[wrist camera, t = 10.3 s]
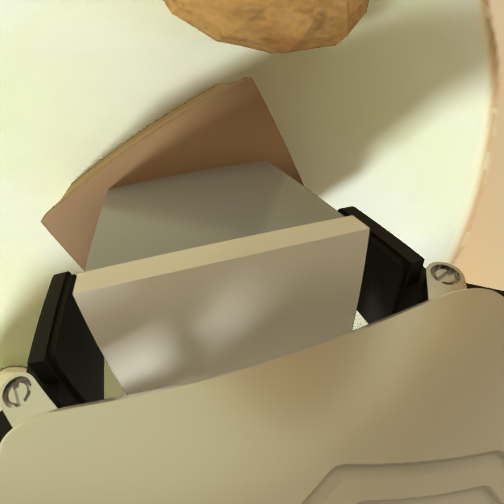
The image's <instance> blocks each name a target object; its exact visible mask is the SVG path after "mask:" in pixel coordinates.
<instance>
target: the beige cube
mask: <svg viewBox="0 0 504 504" xmlns="http://www.w3.org/2000/svg"><path fill="white" fill-rule="evenodd" d="M369 231H370V228H369V227H367V226H366V225H365V224H364V223H362V222H361V221H360V220H358V219H357V218H356V217H354V216H353V215H352V216H347V217H344V216H343V215H342V214H341V213H339V212H338V211H337V210H335V209H334V208H333V207H331V206H330V205H329V204H327V203H326V202H325V201H323V200H322V199H321V198H319V197H318V196H316V195H315V194H314V193H312V192H311V191H310V190H308V189H307V188H305V187H304V186H303V185H301V184H300V183H299V182H297V181H296V180H294V179H293V178H291V177H290V176H289V175H287V174H286V173H284V172H283V171H281V170H280V169H279V168H277V167H276V166H274V165H273V164H271V163H270V162H268V161H267V160H265V161H257V162H250V163H243V164H236V165H230V166H224V167H217V168H211V169H205V170H200V171H194V172H189V173H183V174H178V175H173V176H168V177H163V178H158V179H153V180H148V181H143V182H139V183H134V184H130V185H125V186H121V187H117V188H112V189H108V191H107V194H106V197H105V200H104V203H103V207H102V210H101V213H100V216H99V220H98V223H97V226H96V230H95V233H94V237H93V241H92V244H91V248H90V252H89V256H88V260H87V264H86V268H85V272H82V273H78V274H77V278H76V282H75V286H74V290H73V296H74V298H75V300H76V303H77V305H78V307H79V309H80V311H81V313H82V315H83V317H84V319H85V321H86V323H87V325H88V327H89V329H90V331H91V333H92V335H93V337H94V339H95V341H96V343H97V345H98V347H99V348H100V350H101V352H102V354H103V356H104V357H105V359H106V361H107V363H108V365H109V366H110V368H111V370H112V371H113V373H114V375H115V377H116V378H117V380H118V382H119V383H120V385H121V386H122V388H123V390H124V391H125V393H126V394H127V395H130V394H135V393H140V392H145V391H150V390H154V389H159V388H164V387H168V386H172V385H177V384H181V383H185V382H189V381H193V380H197V379H201V378H205V377H209V376H213V375H217V374H220V373H224V372H228V371H231V370H235V369H238V368H242V367H245V366H249V365H252V364H256V363H259V362H262V361H266V360H269V359H272V358H275V357H278V356H281V355H285V354H288V353H291V352H294V351H297V350H300V349H303V348H306V347H309V346H311V345H314V344H317V343H320V342H323V341H326V340H329V339H331V338H334V337H337V336H340V335H342V334H345V333H348V332H350V331H352V329H353V324H354V319H355V314H356V309H357V304H358V299H359V294H360V288H361V283H362V277H363V271H364V265H365V259H366V252H367V245H368V238H369Z"/></svg>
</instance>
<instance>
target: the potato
mask: <svg viewBox="0 0 504 504" xmlns="http://www.w3.org/2000/svg"><path fill="white" fill-rule="evenodd" d="M163 1H164V2H165V4H166V5H167V7H168V8H169V10H170V11H171V13H172V14H174V15H175V16H177V17H179V18H180V19H182V20H184V21H185V22H187V23H189V24H190V25H192V26H193V27H195V28H197V29H198V30H200V31H201V32H203V33H204V34H206V35H208V36H209V37H211V38H212V39H214V40H215V41H218V42H224V43H229V44H234V45H239V46H244V47H248V48H252V49H257V50H261V51H265V52H269V53H288V52H293V51H299V50H306V49H312V48H319V47H327V46H335V45H336V44H338V43H339V42H340V41H341V40H343V39H344V38H345V37H346V36H347V35H348V34H349V33H350V31H351V30H352V29H353V28H354V26H355V25H356V24H357V23H358V21H359V20H360V19H361V18H362V16H363V15H364V14H365V13H366V11H367V7H368V2H369V0H163Z"/></svg>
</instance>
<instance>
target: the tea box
mask: <svg viewBox="0 0 504 504" xmlns="http://www.w3.org/2000/svg"><path fill="white" fill-rule="evenodd" d="M265 160H267V161H268V162H270V163H271V164H273V165H274V166H276V167H277V168H279V169H280V170H281V171H283V172H284V173H286V174H287V175H289V176H290V177H291V178H293V179H294V180H296V181H297V182H299V183H300V184H301V185H303V183H302V181H301V178H300V176H299V174H298V172H297V169H296V167H295V165H294V163H293V161H292V159H291V156H290V154H289V152H288V150H287V148H286V146H285V144H284V141H283V139H282V137H281V135H280V133H279V131H278V129H277V127H276V125H275V123H274V121H273V119H272V117H271V115H270V113H269V111H268V109H267V107H266V105H265V103H264V101H263V99H262V97H261V95H260V93H259V91H258V89H257V87H256V85H255V83H254V81H253V79H252V78H251V77H245V78H243V79H241V80H239V81H237V82H235V83H233V84H218V85H217V86H215V87H213V88H211V89H209V90H207V91H206V92H204V93H202V94H200V95H198V96H197V97H195V98H193V99H192V100H190V101H188V102H186V103H185V104H183V105H181V106H180V107H178V108H176V109H175V110H173V111H172V112H170V113H168V114H167V115H165V116H164V117H162V118H160V119H159V120H157V121H156V122H154V123H153V124H151V125H150V126H148V127H147V128H145V129H144V130H142V131H141V132H139V133H138V134H136V135H135V136H133V137H132V138H130V139H129V140H128V141H126V142H125V143H123V144H122V145H121V146H119V147H118V148H116V149H115V150H114V151H112V152H111V153H110V154H108V155H107V156H106V157H104V158H103V159H102V160H100V161H99V162H98V163H96V164H95V165H94V166H93V167H91V168H90V169H89V170H88V171H86V172H85V173H84V174H83V175H81V176H80V177H79V178H78V179H76V180H75V181H74V182H73V183H72V184H71V186H70V187H69V188H68V190H67V191H66V193H65V194H64V196H63V198H62V199H61V200H60V201H59V202H58V203H57V204H56V205H55V206H53V207H52V208H51V209H50V210H49V211H48V212H47V213H46V214H45V215H44V217H43V219H42V220H41V222H42V224H43V225H44V226H45V227H46V228H47V230H48V231H49V232H50V233H51V234H52V235H53V237H54V238H55V239H56V240H57V241H58V242H59V243H60V245H61V246H62V247H63V248H64V249H65V250H66V251H67V252H68V254H69V255H70V256H71V257H72V258H73V259H74V260H75V261H76V262H77V263H78V264H79V265H80V267H81V268H82V269H83V270H84V271H85V268H86V264H87V260H88V256H89V252H90V248H91V244H92V241H93V237H94V233H95V230H96V226H97V223H98V220H99V216H100V213H101V210H102V207H103V203H104V200H105V197H106V194H107V191H108V189H112V188H117V187H121V186H125V185H130V184H134V183H139V182H143V181H148V180H153V179H158V178H163V177H168V176H173V175H178V174H183V173H189V172H194V171H200V170H205V169H211V168H217V167H224V166H230V165H236V164H243V163H250V162H257V161H265ZM303 186H304V185H303Z"/></svg>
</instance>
